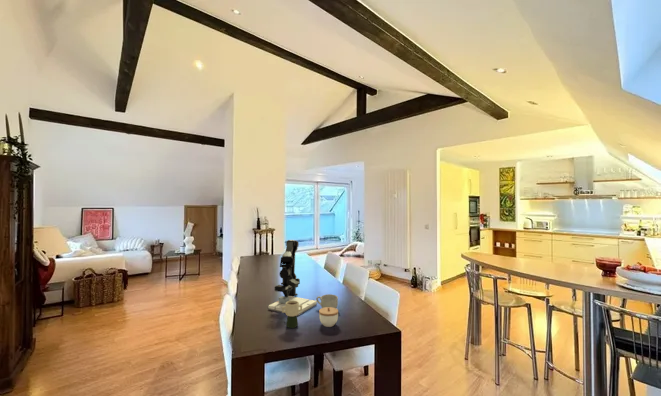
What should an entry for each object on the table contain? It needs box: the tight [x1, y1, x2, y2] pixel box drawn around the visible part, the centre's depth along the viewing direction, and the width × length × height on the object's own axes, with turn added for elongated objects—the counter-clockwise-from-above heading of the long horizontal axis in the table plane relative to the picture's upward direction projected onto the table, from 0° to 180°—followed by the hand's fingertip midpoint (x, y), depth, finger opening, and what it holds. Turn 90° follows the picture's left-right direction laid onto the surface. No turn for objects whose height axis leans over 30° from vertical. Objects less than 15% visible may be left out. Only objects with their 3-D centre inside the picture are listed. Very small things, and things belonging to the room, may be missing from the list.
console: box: [268, 296, 318, 317], centre depth 189 cm, size 22×22×3 cm
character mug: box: [281, 301, 302, 329], centre depth 159 cm, size 11×7×13 cm, turn 106°
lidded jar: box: [318, 307, 339, 328], centre depth 162 cm, size 11×11×9 cm
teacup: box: [315, 293, 339, 309], centre depth 186 cm, size 14×11×8 cm
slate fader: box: [278, 295, 289, 304], centre depth 190 cm, size 4×5×5 cm
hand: (286, 298), depth 193 cm, fingers closed
